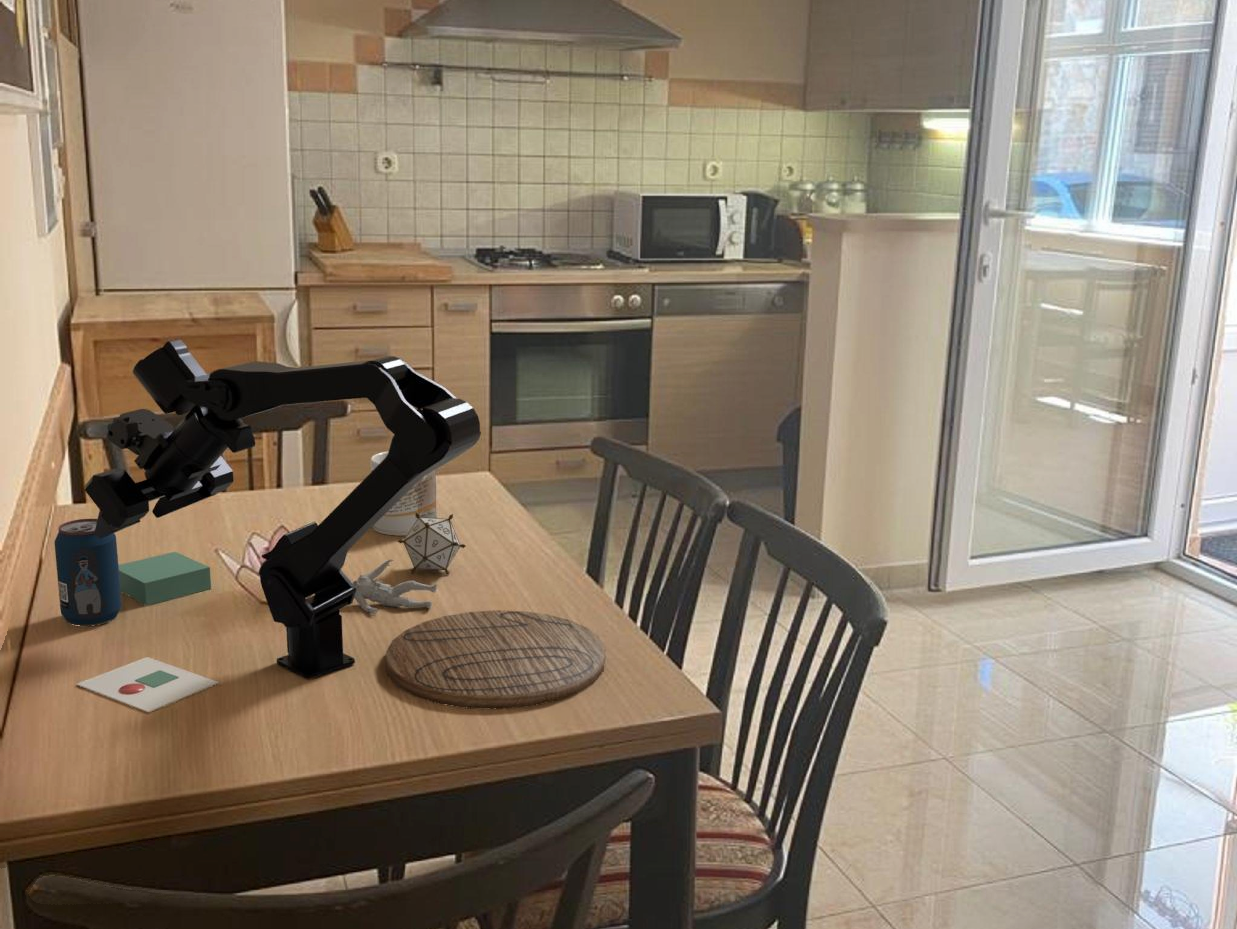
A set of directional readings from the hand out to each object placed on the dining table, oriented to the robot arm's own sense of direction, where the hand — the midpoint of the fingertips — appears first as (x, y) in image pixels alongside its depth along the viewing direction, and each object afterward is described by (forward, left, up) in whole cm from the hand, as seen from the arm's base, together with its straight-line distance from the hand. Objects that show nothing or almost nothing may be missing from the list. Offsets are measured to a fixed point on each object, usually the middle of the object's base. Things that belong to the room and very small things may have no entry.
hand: (127, 524), depth 149 cm
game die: (-9, -39, -13) cm, 42 cm away
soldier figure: (-15, -26, -13) cm, 33 cm away
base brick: (+10, -9, -13) cm, 19 cm away
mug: (+11, -50, -13) cm, 53 cm away
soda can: (+6, +2, -13) cm, 15 cm away
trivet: (-38, -24, -14) cm, 47 cm away
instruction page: (-17, +7, -13) cm, 22 cm away
